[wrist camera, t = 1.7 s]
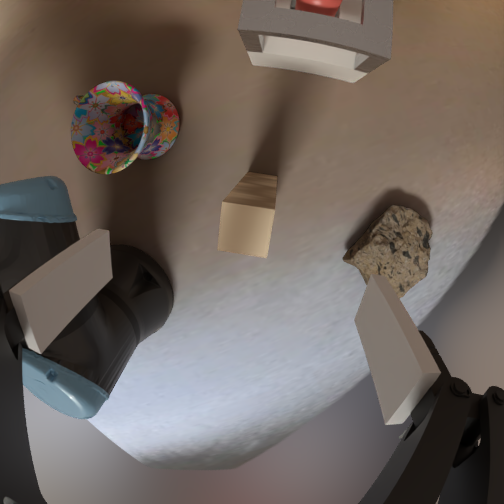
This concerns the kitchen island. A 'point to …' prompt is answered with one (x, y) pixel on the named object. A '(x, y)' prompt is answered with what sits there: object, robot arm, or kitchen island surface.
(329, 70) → the box
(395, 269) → the rock
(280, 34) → the frame
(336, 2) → the red dome button
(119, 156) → the mug
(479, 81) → the kitchen island surface
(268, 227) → the tall wooden block
